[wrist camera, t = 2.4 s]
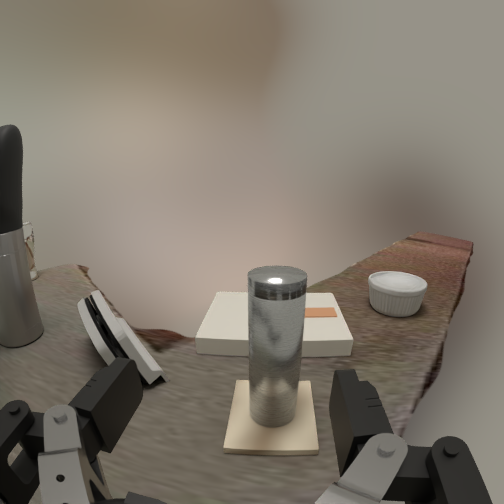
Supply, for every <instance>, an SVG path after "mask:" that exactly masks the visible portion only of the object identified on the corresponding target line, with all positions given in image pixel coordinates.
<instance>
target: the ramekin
mask: <svg viewBox="0 0 504 504" xmlns="http://www.w3.org/2000/svg"><path fill="white" fill-rule="evenodd" d="M368 283H369V295H370V303H371V305H372V307H373V308H374V309H375V310H376V311H377V312H379V313H382V314H384V315H388V316H393V317H406V316H410V315H413V314H414V313H415V312H417V311H418V310H419V308H420V305H421V302H422V299H423V296H424V293H425V292H426V290H427V283H426V281H425V280H423V279H422V278H420V277H418V276H415V275H412V274H408V273H403V272H392V271H385V272H377V273H374V274H372V275H370V276H369V280H368Z"/></svg>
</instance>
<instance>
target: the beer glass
mask: <svg viewBox="0 0 504 504" xmlns="http://www.w3.org/2000/svg"><path fill="white" fill-rule="evenodd" d="M23 232H24V240H25V247H26V253H27V259H28V265H29V270H30V275H31V280H32V281H33V280H35V279H37V278H38V277H39V275H38V272H37V270H36V266H35V257H34V256H35V252H34V251H35V250H34V249H35V247H34V235H33V229H32V224H31V222H24V223H23Z"/></svg>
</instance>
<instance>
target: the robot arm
mask: <svg viewBox="0 0 504 504" xmlns="http://www.w3.org/2000/svg"><path fill="white" fill-rule="evenodd" d="M22 164H23V146H22V137H21V134H20V131H19V129H18V128H17V127H16V126H14V125H5V126H1V127H0V344H2V345H3V346H6V347H18V346H23V345H26V344H28V343H30V342H32V341H34V340H36V339H37V338H38V337H39V336H40V335H41V334H42V333H43V325H42V322H41V318H40V314H39V311H38V306H37V302H36V298H35V294H34V290H33V285H32V280H31V275H30V270H29V265H28V259H27V253H26V247H25V240H24V232H23V223H22ZM142 397H143V388H142V384H141V380H140V376H139V372H138V368H137V364H136V362H135V360H133V359H126V358H120V357H117V358H115V360H114V361H113V362H112V363H111V364H110V365H109V366H108V367H107V366H106V367H104V368H103V369H101V370H99V371H97V372H96V373H95V374H94V375H93V377H92V378H91V380H89V381H88V382H87V383H86V386H84V387H83V388H82V389H81V390H80V391H79V393H78V394H77V395H76V396H75V397H74V398H73V400H72V401H71V402H70V403H69V404H68V405H56V406H53V407H51V408H49V409H48V410H47V411H46V412H45V413H38V412H31V410H30V408H29V406H28V404H27V403H26V402H24V401H22V400H14V401H11V402H9V403H7V404H6V405H5V406H4V407H3V408H2V409H1V410H0V504H28V503H29V501H30V499H31V498H32V496H33V494H34V493H35V491H36V489H37V488H38V486H39V484H40V488H41V496H42V503H43V504H166V503H164V502H162V501H160V500H158V499H154V498H150V497H146V496H142V495H139V494H135V493H132V492H128V494H127V496H126V498H125V499H113V498H112V496H111V494H110V492H109V489H108V486H107V483H106V480H105V477H104V473H103V470H102V466H101V463H100V459H99V457H98V455H97V454H98V453H99V451H100V450H102V451H105V452H108V453H111V452H112V450H113V448H114V447H115V445H116V443H117V441H118V440H119V438H120V436H121V435H122V433H123V431H124V430H125V428H126V426H127V424H128V423H129V421H130V419H131V418H132V416H133V414H134V413H135V411H136V409H137V408H138V406H139V404H140V403H141V400H142ZM329 411H330V418H331V424H332V430H333V435H334V441H335V447H336V453H337V459H338V466H339V472H340V477H341V478H340V480H339V481H338V482H337V483H335V482H334V483H333V484H331V485H330V486H329V487H328V489H327V490H326V491H325V492H324V493H323V494H322V495H321V497H320V498H319V499H318V500H317V501H316V502H315V503H314V504H379V503H380V501H381V500H388V501H405V504H492V501H491V499H490V496H489V494H488V491H487V489H486V486H485V484H484V482H483V479H482V477H481V474H480V472H479V470H478V468H477V465H476V463H475V461H474V459H473V457H472V454H471V452H470V451H469V448H468V446H467V444H466V443H465V442H464V441H463V440H461V439H459V438H457V437H452V436H447V437H442V438H440V439H438V440H437V441H436V442H435V443H434V444H433V446H432V447H415V446H409V445H407V444H406V442H405V441H404V440H403V439H402V438H401V437H399V436H397V435H395V434H394V433H393V431H392V428H391V426H390V423H389V421H388V418H387V415H386V413H385V410H384V408H383V407H382V403H381V400H380V399H379V395H378V393H377V391H376V388H375V387H374V386H372V385H371V384H370V383H369V382H368V381H359V380H358V377H357V374H356V372H355V370H354V369H350V370H335V372H334V377H333V384H332V390H331V396H330V403H329ZM17 443H19V444H20V446H21V447H22V448H23V450H22V451H21V452H20V454H19V455H18V456H17V458H16V459H15V461H14V462H13V463H12V465H11V466H9V465H8V461H7V458H8V455H9V453H10V452H11V451H12V449H13V448H14V447H15V446H16V444H17Z"/></svg>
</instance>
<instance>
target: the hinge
mask: <svg viewBox="0 0 504 504" xmlns="http://www.w3.org/2000/svg"><path fill="white" fill-rule="evenodd" d="M91 294H92V295H90V299H91V301H92V304H93V305H92V304H91V302H90V301H89V299H88V298H83V299H82V300H81V301H80V302H79V303H78V309H79V313H80V316H81V318H82V321H83V323H84V325H85V328H86V330H87V332H88V334H89V336H90V338H91V340H92V342H93V344H94V346H95V347H96V349H97V351H98V352H99V354H100V355H101V356H102V358H103V359H104V361H105V362H106V363H107V365H108V366H109V365H110V364H111V363H112V362H113V361H114V360H115V358H117V357H120V358H126V359H133V360H135V362H136V364H137V368H138V372H139V376H140V379H141V380H142V381H143V382H144V384H145V383H147V382H148V383H149V384H151V383H152V382H153V381H154V380H156V379H157V378H158V377H159V376H160V375H161V376H162V377H163V379H164V380H165V381H166V382H168V381H169V378H168V377H167V376H166V374H165V373H164V371H163V370H162V369H161V368H160V366H159V365H158V364H157V363H156V361H155V360H154V359H153V358H152V356H151V355H150V354H149V353H148V351H147V350H146V349H145V347H144V346H143V345H142V343H141V342H140V341H139V339H138V338H137V337H136V335H135V334H134V333H133V331H132V330H131V328H130V327H129V326H128V324H127V323H126V321H125V320H124V319H123V318H116V317H115V316H114V315H113V313H112V311H111V310H110V308H109V306H108V305H107V303H106V301H105V300H104V298H103V296H102V295H101V293H100V291H99V290H97V291H94V292H91ZM93 306H94V307H93ZM94 308H95V309H94Z"/></svg>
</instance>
